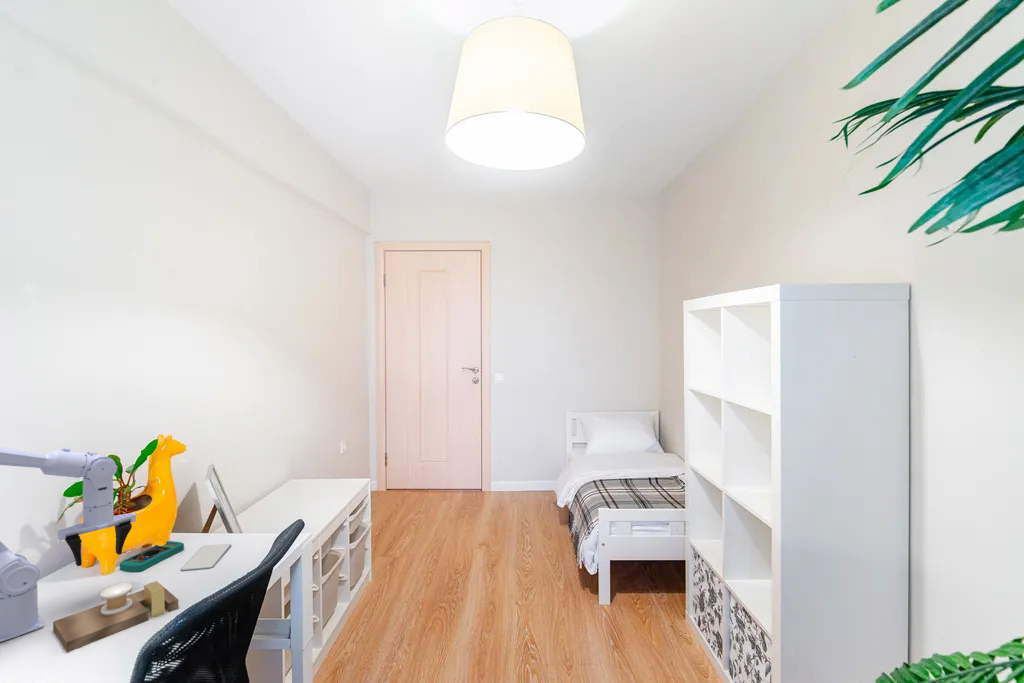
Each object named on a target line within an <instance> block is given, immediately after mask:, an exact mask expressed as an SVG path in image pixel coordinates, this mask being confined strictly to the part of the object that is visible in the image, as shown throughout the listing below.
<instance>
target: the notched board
mask: <svg viewBox="0 0 1024 683" xmlns="http://www.w3.org/2000/svg"><path fill="white" fill-rule="evenodd" d="M127 599H131V600H132V606H131V607H130V608H129V609H128V610H126V611H124V612H122V613H119V614H115V615H110V616H104V615H102V614H101V608H102V607H103V606H104V605H106V604H107V602H105V603H102V604H99V605H95V606H94V607H90V608H87V609H85V610H82V611H79V612H76V613H73V614H71V615H68V616H65V617H62V618H60V619H57V620H54V621H52V624H53V625H52V629H53V633H54V634H55V636H56V637H57V639H58V640H59V642H60V644H61V645H62V647H63V648H64V651H66V652H70V651H73V650H75V649H78V648H80V647H83V646H85V645H87V644H90V643H93V642H96V641H98V640H100V639H103V638H106V637H108V636H111V635H114V634H116V633H119V632H121V631H124V630H126V629H128V628H131V627H134V626H136V625H139V624H141V623H143V622H146V621H148V620H149V614H148V610H147V609H146V608H145V607H144V589H142V590H138V591H136V592H133V593H130V594H128V595H127ZM164 604H165V608H166V609H167V610H168V611H167V610H166V609H165V610H166V611H167V612H171V611H170V610H172V611H174V610H176V608H177V609H179V608H180V607H179V606H180V605H179V598H177V597H176V596H175V595H174V594H173V593H171V591H169V590H168V589H166V588H165V587H164ZM173 609H174V610H173Z"/></svg>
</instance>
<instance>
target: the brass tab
mask: <svg viewBox="0 0 1024 683" xmlns="http://www.w3.org/2000/svg"><path fill="white" fill-rule="evenodd" d="M164 588H165V587H164V585H162V584H161V583H160V582H158V580H156V581H152V582H150V583H147V584H144V586H143V590H144V607H145V608H146V609H147V610H148V616H149V617H150V618H152V619H153V618H155V617H158V616H160V615H162V613H163V614H165V613H166V612H165V610H166V609H165V604H164ZM164 612H165V613H164ZM157 615H158V616H157Z"/></svg>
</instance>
